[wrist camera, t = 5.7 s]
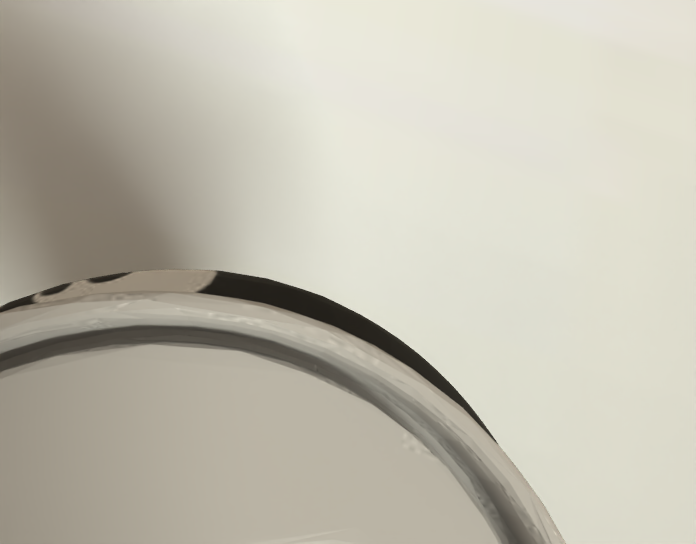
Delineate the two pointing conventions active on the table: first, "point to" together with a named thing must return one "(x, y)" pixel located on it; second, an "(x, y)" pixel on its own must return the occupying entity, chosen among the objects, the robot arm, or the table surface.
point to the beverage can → (237, 423)
